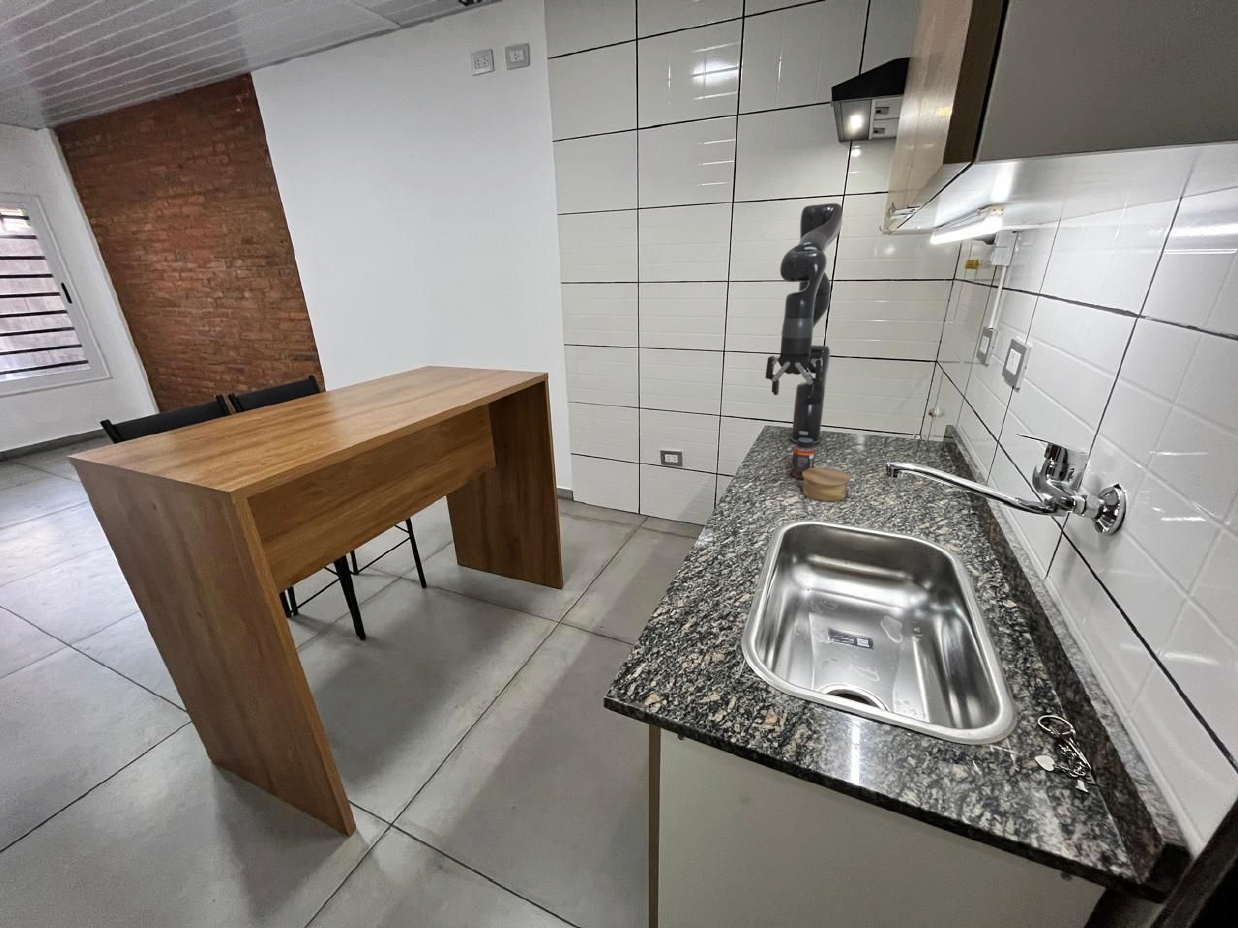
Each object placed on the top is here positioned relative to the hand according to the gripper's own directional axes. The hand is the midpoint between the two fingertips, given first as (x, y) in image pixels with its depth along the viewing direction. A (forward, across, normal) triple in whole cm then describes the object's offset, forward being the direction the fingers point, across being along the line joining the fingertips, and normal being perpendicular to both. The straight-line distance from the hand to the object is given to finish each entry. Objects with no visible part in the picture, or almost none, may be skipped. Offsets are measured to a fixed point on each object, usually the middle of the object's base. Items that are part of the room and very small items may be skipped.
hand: (791, 396), depth 131 cm
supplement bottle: (+25, -4, -5) cm, 26 cm away
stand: (+25, -12, +4) cm, 28 cm away
